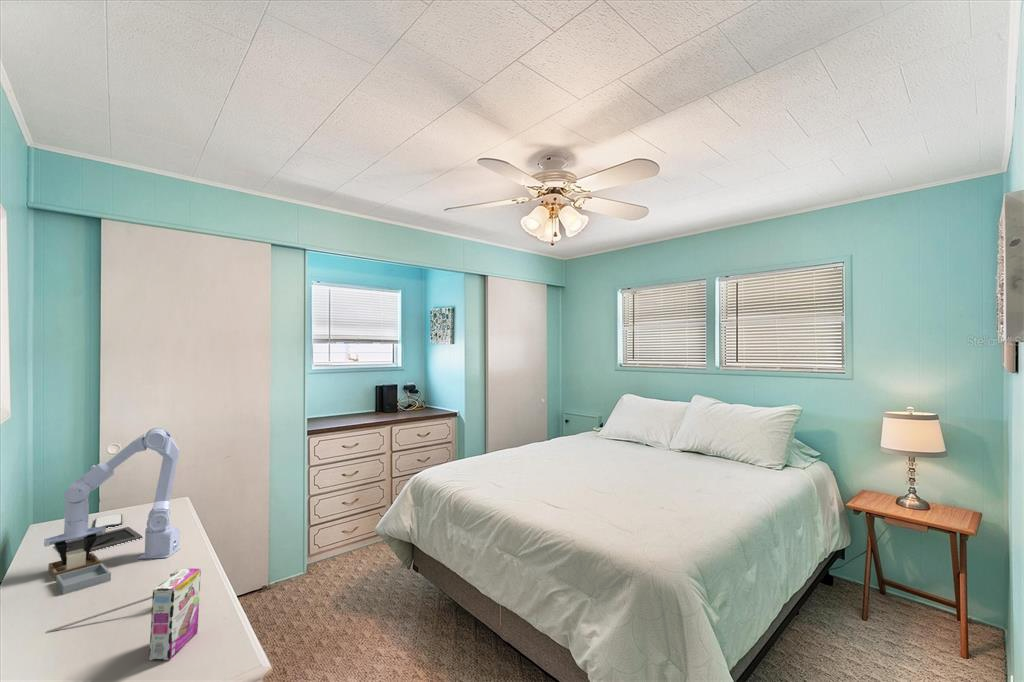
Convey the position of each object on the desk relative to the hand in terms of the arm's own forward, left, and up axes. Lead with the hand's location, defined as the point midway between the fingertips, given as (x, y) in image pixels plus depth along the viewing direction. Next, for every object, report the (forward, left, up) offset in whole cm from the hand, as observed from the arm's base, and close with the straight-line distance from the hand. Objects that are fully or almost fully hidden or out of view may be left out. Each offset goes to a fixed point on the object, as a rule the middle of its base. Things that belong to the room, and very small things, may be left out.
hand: (74, 561), depth 150 cm
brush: (-33, +31, -3) cm, 45 cm away
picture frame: (+8, -23, -4) cm, 25 cm away
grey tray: (-9, +9, -3) cm, 13 cm away
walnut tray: (0, 0, -3) cm, 3 cm away
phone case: (+19, -44, -3) cm, 48 cm away
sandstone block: (0, 0, -2) cm, 2 cm away
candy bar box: (-55, +46, -3) cm, 72 cm away
